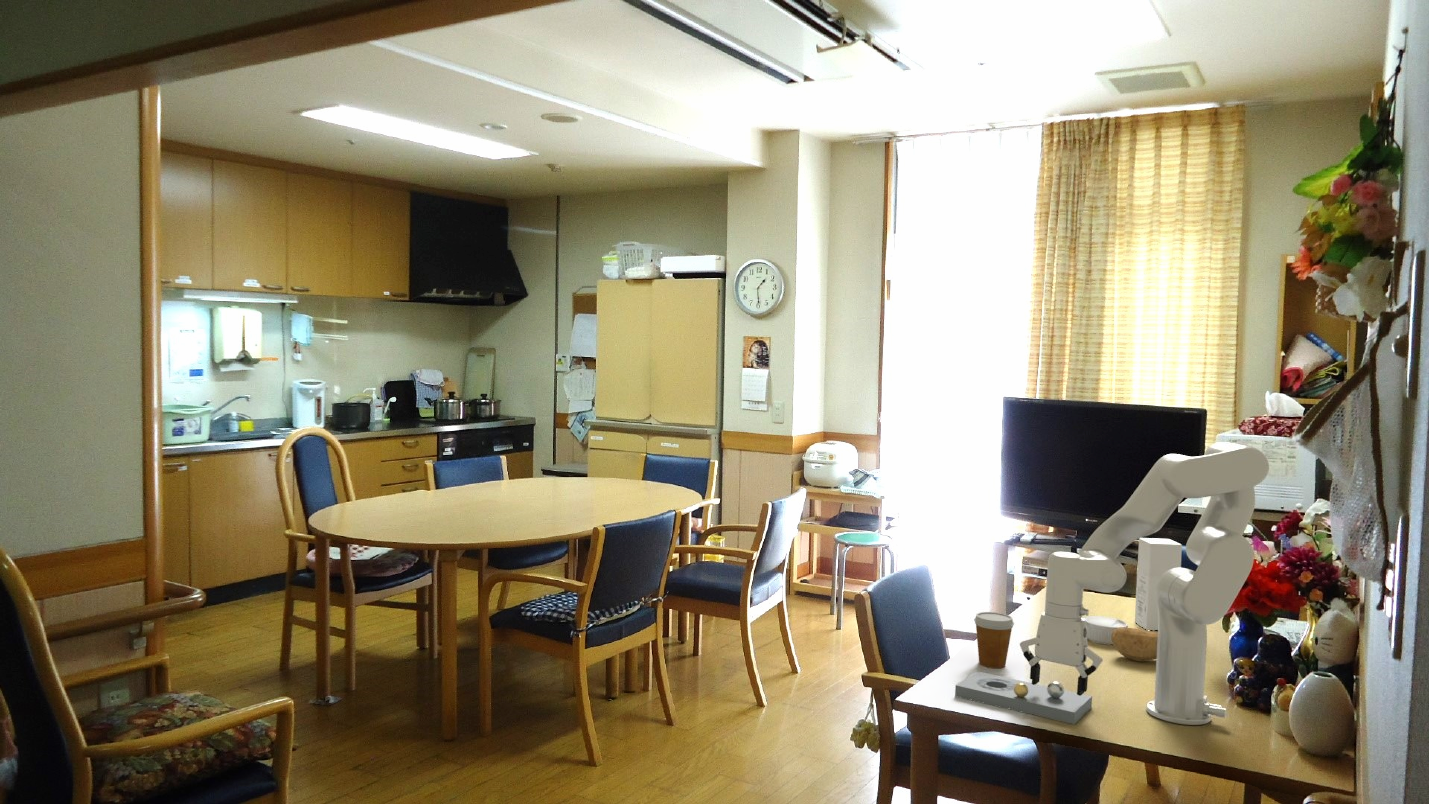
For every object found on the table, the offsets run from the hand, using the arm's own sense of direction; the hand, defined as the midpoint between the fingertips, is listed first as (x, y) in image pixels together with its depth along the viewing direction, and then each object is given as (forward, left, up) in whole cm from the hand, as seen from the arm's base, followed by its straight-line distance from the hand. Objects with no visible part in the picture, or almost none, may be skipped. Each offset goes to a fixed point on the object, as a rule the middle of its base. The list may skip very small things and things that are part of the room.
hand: (1057, 688), depth 214 cm
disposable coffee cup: (+23, -22, -5) cm, 32 cm away
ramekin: (+7, -64, -5) cm, 65 cm away
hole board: (+8, 0, -5) cm, 9 cm away
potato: (-5, -51, -5) cm, 52 cm away
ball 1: (+7, +4, -1) cm, 8 cm away
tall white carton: (-1, -88, -5) cm, 88 cm away
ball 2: (+1, 0, -1) cm, 1 cm away
